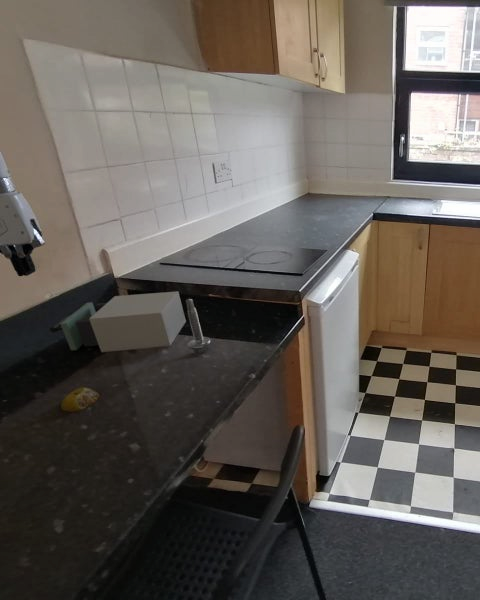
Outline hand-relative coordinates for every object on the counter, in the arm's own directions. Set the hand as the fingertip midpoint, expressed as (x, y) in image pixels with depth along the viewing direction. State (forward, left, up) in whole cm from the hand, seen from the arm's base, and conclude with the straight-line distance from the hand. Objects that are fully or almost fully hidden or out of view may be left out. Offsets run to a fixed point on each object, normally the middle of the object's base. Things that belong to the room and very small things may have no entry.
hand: (27, 273), depth 88 cm
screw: (+35, -10, -18) cm, 40 cm away
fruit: (+21, -28, -18) cm, 39 cm away
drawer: (+11, 0, -17) cm, 20 cm away
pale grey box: (+20, 0, -18) cm, 26 cm away
